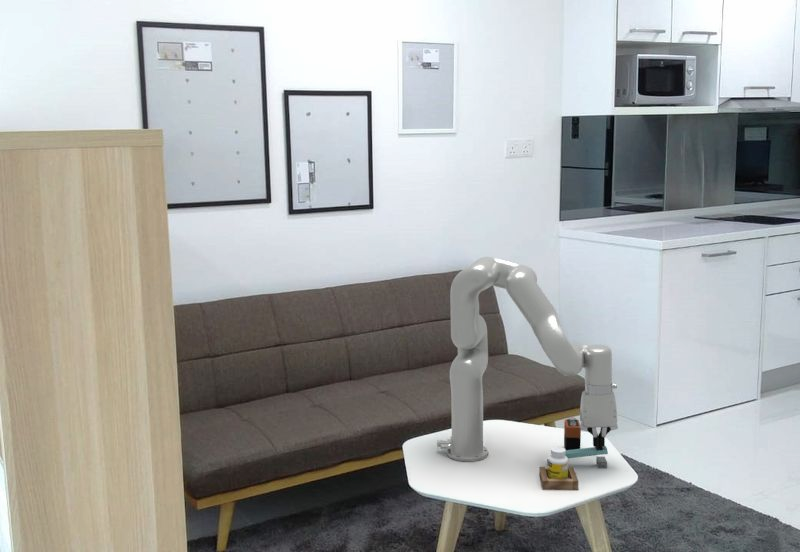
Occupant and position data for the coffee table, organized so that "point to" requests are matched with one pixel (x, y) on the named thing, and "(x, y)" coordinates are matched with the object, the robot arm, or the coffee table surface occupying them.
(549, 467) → the supplement bottle
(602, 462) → the latch bracket
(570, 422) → the battery
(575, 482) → the socket
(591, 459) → the coffee table surface
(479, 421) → the robot arm
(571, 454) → the latch bar
